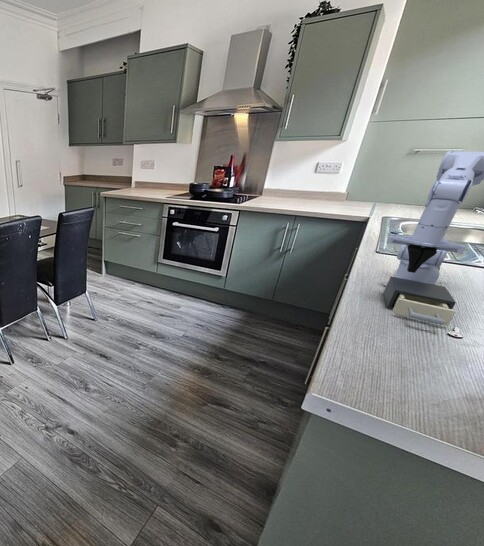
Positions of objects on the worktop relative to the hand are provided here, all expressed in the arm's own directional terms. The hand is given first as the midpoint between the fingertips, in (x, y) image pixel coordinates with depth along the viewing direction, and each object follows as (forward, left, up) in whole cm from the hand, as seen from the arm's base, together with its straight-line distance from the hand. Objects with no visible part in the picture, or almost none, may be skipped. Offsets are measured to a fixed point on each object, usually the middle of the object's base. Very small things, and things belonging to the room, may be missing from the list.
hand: (410, 271), depth 89 cm
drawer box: (-2, +2, -10) cm, 11 cm away
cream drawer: (+3, +8, -10) cm, 13 cm away
